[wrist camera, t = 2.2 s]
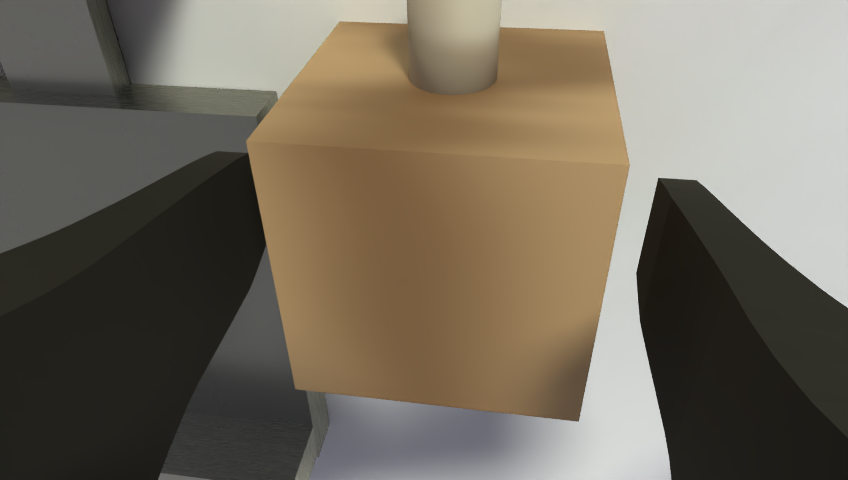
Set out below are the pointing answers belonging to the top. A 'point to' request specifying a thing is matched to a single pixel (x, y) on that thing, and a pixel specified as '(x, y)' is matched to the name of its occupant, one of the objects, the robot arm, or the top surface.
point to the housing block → (444, 209)
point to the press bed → (126, 174)
